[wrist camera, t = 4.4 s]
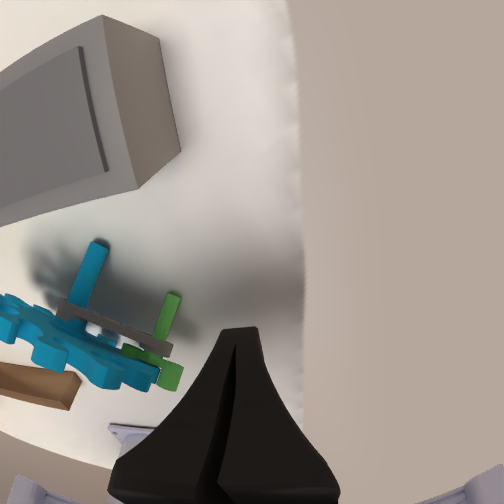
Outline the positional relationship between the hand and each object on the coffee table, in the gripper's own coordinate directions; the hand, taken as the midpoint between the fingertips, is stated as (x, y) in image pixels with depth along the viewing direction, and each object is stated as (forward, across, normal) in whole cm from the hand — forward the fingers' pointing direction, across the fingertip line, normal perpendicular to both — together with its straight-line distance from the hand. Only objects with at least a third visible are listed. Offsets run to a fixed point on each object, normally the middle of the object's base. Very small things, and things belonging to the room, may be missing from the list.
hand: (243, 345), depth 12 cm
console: (+4, +5, -10) cm, 11 cm away
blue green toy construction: (+4, +8, 0) cm, 9 cm away
